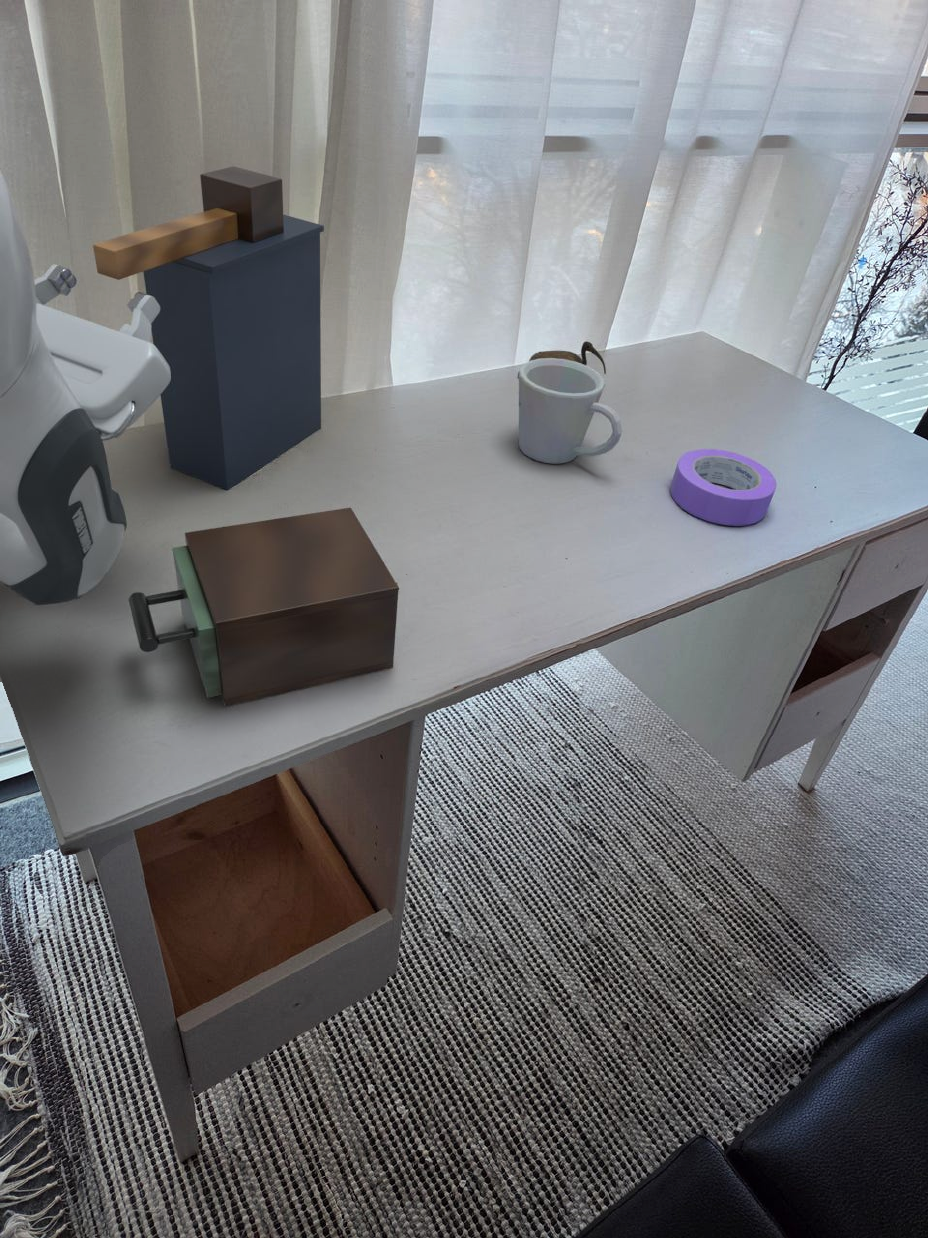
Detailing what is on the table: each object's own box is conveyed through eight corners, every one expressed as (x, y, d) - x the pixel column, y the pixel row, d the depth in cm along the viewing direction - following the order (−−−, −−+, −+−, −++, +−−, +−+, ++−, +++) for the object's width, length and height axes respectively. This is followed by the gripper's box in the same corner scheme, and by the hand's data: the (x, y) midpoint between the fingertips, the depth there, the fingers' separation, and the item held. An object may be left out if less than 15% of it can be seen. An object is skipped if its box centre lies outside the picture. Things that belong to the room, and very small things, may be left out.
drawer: (153, 710, 66) (139, 641, 61) (132, 623, 73) (118, 556, 68) (366, 661, 73) (369, 596, 68) (328, 586, 80) (328, 522, 75)
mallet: (135, 285, 71) (125, 223, 68) (81, 268, 73) (69, 206, 69) (284, 232, 86) (282, 178, 83) (236, 218, 88) (233, 165, 84)
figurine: (607, 410, 117) (621, 350, 111) (585, 417, 115) (598, 356, 109) (538, 371, 125) (548, 313, 119) (516, 377, 122) (526, 318, 117)
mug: (542, 421, 112) (555, 350, 106) (633, 468, 105) (653, 395, 99) (490, 444, 106) (501, 369, 99) (583, 496, 99) (601, 419, 92)
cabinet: (225, 707, 68) (215, 623, 62) (195, 614, 76) (184, 532, 70) (393, 668, 74) (399, 587, 68) (349, 585, 82) (350, 507, 76)
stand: (231, 491, 92) (211, 266, 76) (166, 466, 94) (135, 243, 79) (324, 429, 104) (324, 225, 89) (265, 407, 107) (255, 206, 92)
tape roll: (662, 470, 106) (670, 443, 103) (752, 479, 106) (762, 452, 104) (679, 522, 97) (688, 494, 94) (777, 531, 97) (789, 503, 95)
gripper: (86, 425, 62) (187, 288, 66) (-104, 349, 68) (-1, 228, 72) (129, 471, 68) (219, 343, 72) (-50, 397, 74) (42, 283, 78)
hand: (107, 285), depth 72 cm, fingers open, 8 cm apart
